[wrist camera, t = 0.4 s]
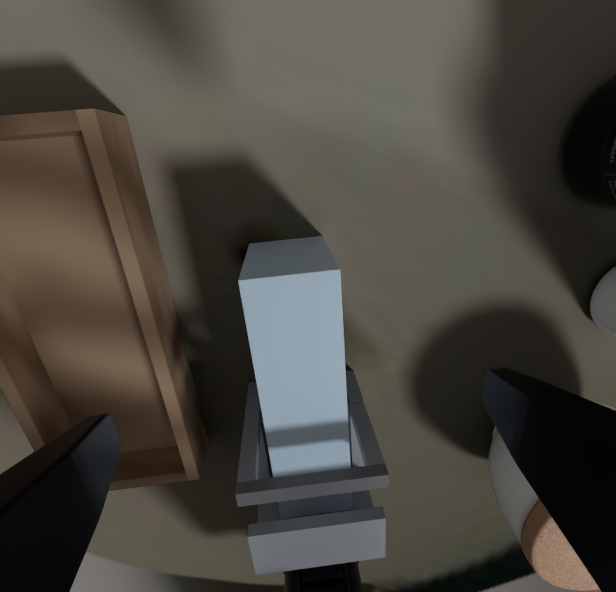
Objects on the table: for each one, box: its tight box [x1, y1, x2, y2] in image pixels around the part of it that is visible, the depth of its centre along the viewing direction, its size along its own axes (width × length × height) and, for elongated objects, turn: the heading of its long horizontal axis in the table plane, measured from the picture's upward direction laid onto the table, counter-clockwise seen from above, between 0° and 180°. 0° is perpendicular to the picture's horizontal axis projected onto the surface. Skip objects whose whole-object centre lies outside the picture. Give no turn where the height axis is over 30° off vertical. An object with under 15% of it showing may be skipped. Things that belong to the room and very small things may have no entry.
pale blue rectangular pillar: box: [238, 236, 353, 519], centre depth 19 cm, size 14×4×6 cm, turn 5°
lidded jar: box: [489, 400, 616, 591], centre depth 21 cm, size 11×11×9 cm
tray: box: [0, 108, 209, 491], centre depth 18 cm, size 20×8×3 cm, turn 5°
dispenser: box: [235, 370, 389, 575], centre depth 20 cm, size 6×7×8 cm
